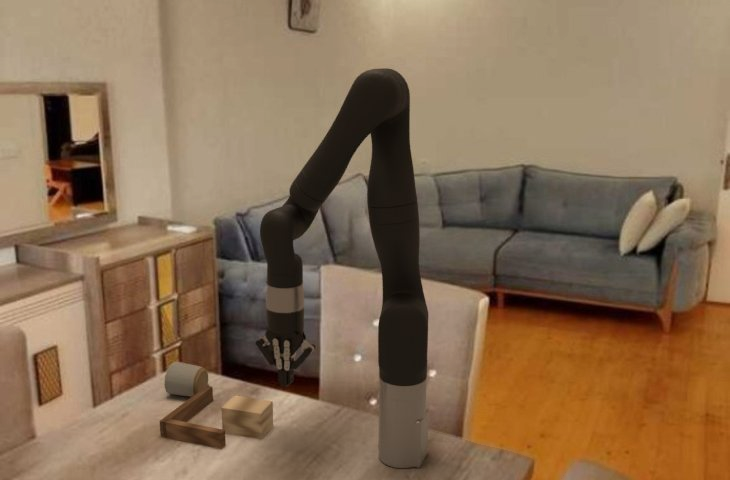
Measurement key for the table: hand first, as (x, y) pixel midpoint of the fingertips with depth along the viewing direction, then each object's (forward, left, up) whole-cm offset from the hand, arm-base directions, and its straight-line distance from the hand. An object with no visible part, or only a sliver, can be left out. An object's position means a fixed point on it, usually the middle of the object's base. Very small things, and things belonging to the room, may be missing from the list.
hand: (285, 384), depth 143 cm
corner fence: (+17, 0, -12) cm, 21 cm away
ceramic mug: (+31, -11, -12) cm, 35 cm away
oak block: (+9, 0, -12) cm, 15 cm away
